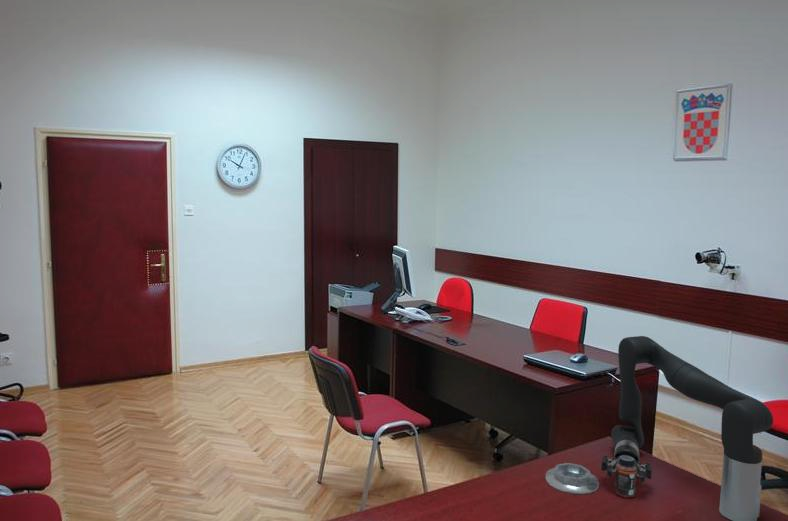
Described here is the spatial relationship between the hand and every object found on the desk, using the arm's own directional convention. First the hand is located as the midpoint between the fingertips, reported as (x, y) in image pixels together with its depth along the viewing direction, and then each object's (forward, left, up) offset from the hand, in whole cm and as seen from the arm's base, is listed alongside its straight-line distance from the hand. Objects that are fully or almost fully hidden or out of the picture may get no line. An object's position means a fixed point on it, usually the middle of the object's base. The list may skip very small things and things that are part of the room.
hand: (625, 477), depth 173 cm
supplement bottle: (-1, -1, -6) cm, 6 cm away
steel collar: (+9, -13, -6) cm, 17 cm away
